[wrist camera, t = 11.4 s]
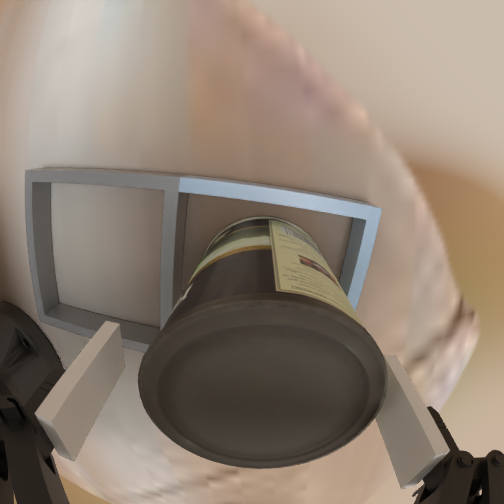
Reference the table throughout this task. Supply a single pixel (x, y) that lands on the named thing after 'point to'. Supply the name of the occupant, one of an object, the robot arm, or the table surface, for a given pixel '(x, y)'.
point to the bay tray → (173, 238)
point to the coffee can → (263, 354)
